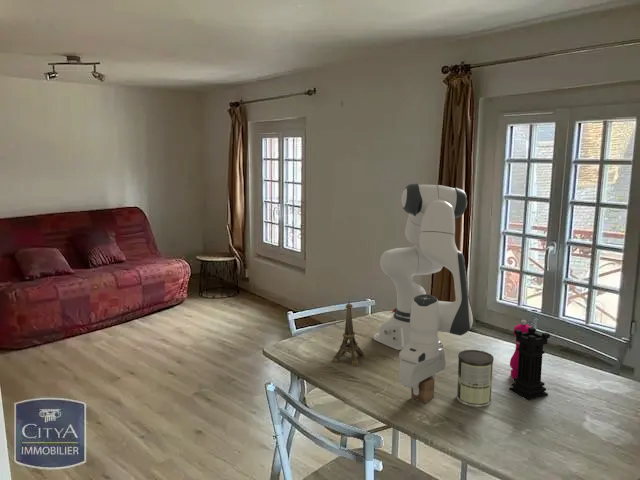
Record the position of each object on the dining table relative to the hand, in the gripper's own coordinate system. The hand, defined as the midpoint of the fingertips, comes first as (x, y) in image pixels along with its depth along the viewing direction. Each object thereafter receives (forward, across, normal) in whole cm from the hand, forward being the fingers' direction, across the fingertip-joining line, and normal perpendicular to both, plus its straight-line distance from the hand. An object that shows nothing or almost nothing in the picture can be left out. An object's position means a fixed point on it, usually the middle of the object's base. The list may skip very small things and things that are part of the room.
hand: (422, 390), depth 161 cm
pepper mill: (+2, -36, +15) cm, 39 cm away
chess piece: (+2, -26, +22) cm, 34 cm away
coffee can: (+2, -10, +12) cm, 16 cm away
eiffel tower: (+2, -7, -37) cm, 38 cm away
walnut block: (+2, 0, 0) cm, 2 cm away
